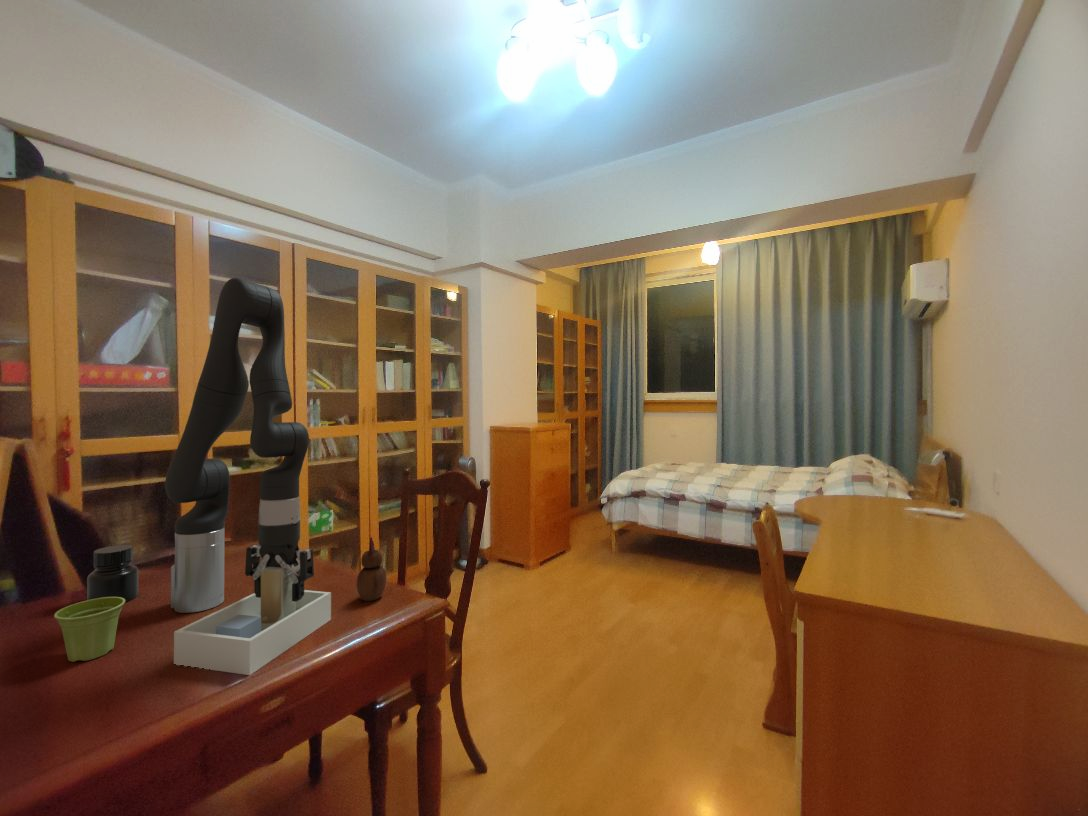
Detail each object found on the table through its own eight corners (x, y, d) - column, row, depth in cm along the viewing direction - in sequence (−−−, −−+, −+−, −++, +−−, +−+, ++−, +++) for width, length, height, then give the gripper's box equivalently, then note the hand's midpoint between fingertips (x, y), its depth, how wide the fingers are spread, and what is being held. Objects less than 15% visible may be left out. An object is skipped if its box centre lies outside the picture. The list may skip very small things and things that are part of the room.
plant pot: (63, 673, 81) (63, 622, 80) (47, 658, 86) (47, 609, 86) (132, 650, 88) (133, 603, 88) (114, 636, 93) (114, 592, 93)
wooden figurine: (374, 605, 109) (375, 540, 109) (352, 602, 110) (352, 538, 110) (390, 593, 116) (390, 532, 116) (368, 591, 117) (369, 531, 117)
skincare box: (276, 617, 101) (276, 559, 101) (297, 617, 101) (297, 559, 101) (259, 631, 94) (259, 570, 94) (281, 631, 94) (281, 570, 94)
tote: (173, 664, 84) (174, 631, 84) (267, 612, 105) (268, 586, 105) (249, 675, 81) (250, 641, 81) (330, 619, 102) (331, 592, 102)
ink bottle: (128, 589, 117) (129, 541, 117) (148, 596, 113) (148, 546, 113) (76, 604, 108) (77, 551, 108) (95, 611, 105) (95, 557, 105)
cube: (215, 653, 86) (215, 626, 86) (238, 640, 91) (238, 614, 91) (239, 656, 85) (239, 628, 85) (261, 643, 90) (261, 616, 90)
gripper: (235, 521, 95) (234, 602, 95) (297, 525, 92) (296, 609, 92) (264, 513, 103) (263, 588, 103) (322, 517, 100) (321, 594, 100)
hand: (279, 598), depth 98 cm, fingers open, 8 cm apart
